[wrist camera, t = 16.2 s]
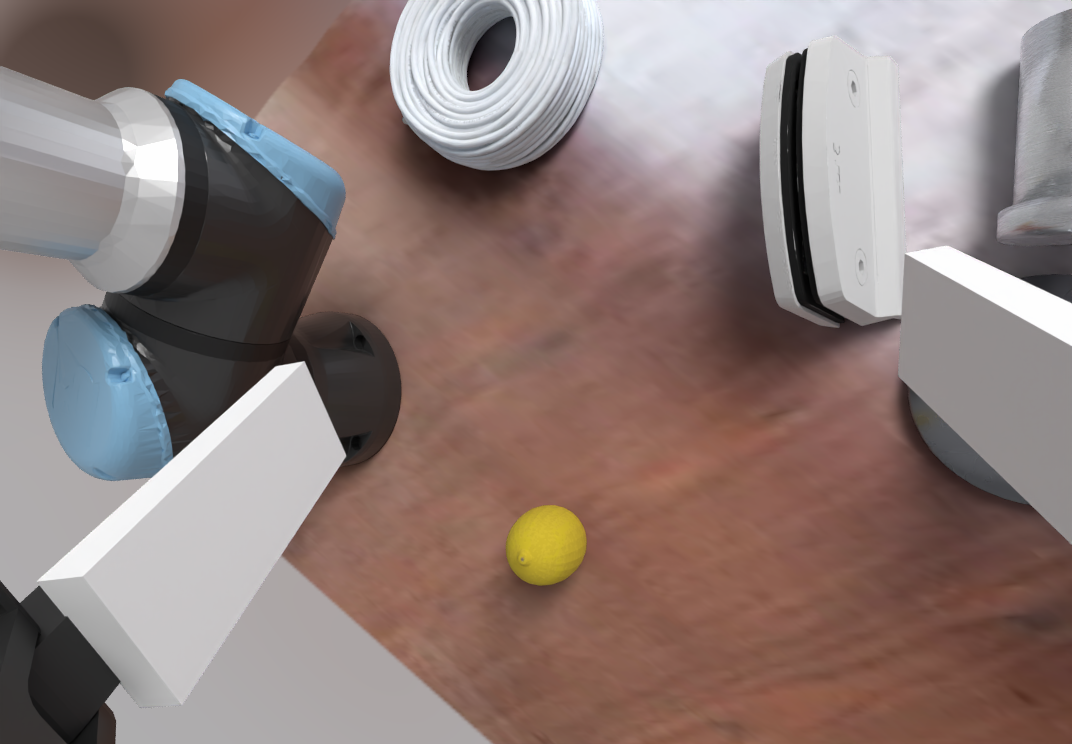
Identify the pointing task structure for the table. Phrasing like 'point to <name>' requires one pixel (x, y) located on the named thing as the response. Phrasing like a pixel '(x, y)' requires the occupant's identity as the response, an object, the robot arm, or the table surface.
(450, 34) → the cable
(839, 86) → the white flat angled piece
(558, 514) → the lemon
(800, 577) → the table surface
